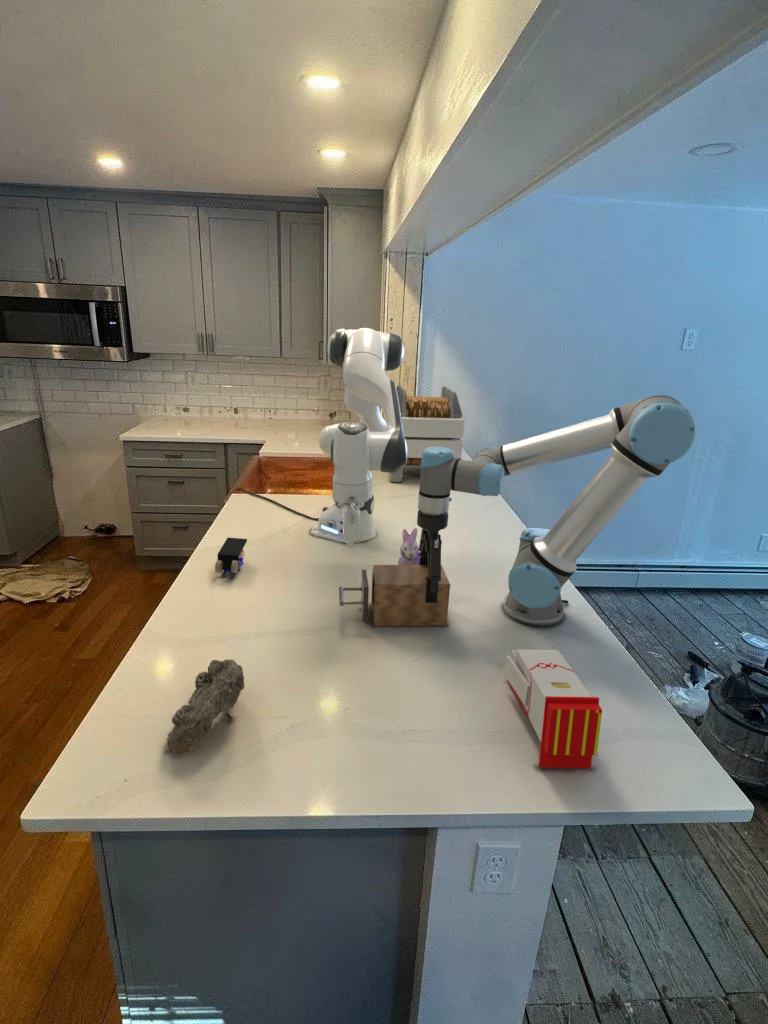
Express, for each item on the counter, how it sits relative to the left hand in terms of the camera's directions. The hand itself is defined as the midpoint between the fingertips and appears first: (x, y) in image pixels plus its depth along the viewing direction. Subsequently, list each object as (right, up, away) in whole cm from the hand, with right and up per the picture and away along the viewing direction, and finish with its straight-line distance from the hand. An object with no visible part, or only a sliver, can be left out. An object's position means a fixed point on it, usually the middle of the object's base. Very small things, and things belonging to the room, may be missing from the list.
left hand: (349, 545), depth 139 cm
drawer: (+8, -17, +7) cm, 21 cm away
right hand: (+20, -12, +6) cm, 24 cm away
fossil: (-24, -31, -31) cm, 50 cm away
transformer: (+26, +27, +136) cm, 141 cm away
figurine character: (-36, -9, +28) cm, 47 cm away
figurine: (+16, -11, +29) cm, 35 cm away
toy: (+40, -32, -27) cm, 58 cm away
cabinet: (+15, -18, +8) cm, 25 cm away
